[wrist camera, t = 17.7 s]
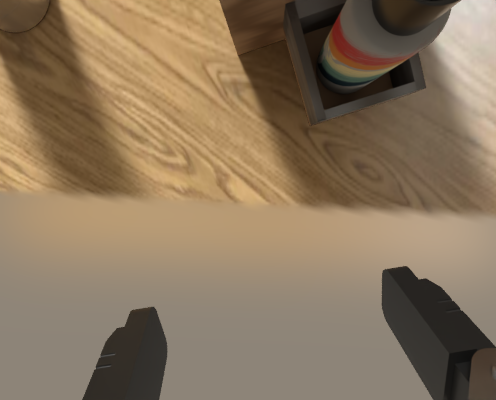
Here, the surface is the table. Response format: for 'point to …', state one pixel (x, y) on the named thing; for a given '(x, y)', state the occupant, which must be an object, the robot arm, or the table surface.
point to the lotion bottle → (377, 39)
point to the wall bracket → (313, 52)
